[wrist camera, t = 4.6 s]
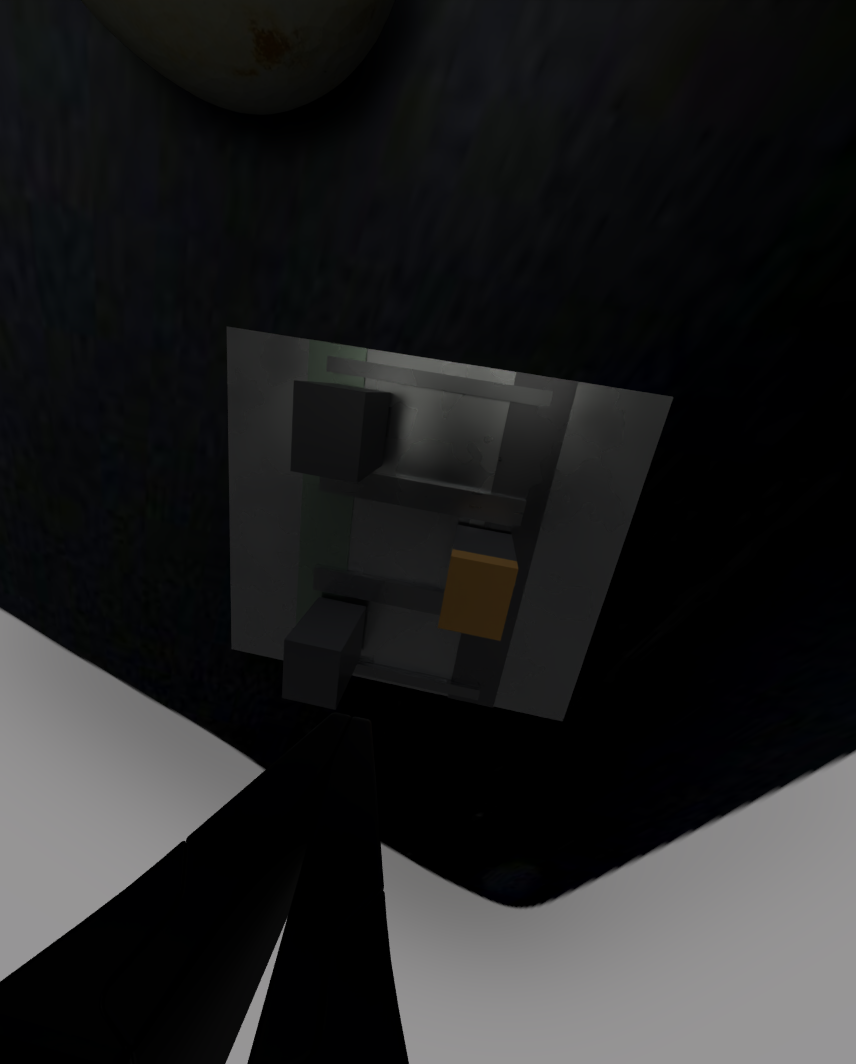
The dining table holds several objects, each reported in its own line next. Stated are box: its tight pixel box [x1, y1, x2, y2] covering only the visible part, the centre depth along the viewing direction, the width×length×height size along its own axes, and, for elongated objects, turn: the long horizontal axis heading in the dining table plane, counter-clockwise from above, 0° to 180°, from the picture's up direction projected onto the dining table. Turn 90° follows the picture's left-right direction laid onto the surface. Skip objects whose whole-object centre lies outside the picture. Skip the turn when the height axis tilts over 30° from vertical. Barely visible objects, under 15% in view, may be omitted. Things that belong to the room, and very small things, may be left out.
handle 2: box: [282, 597, 366, 710], centre depth 19 cm, size 2×3×4 cm
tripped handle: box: [438, 525, 518, 641], centre depth 17 cm, size 2×3×4 cm
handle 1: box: [290, 380, 391, 483], centre depth 15 cm, size 2×3×4 cm
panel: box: [227, 327, 673, 721], centre depth 19 cm, size 18×16×1 cm
